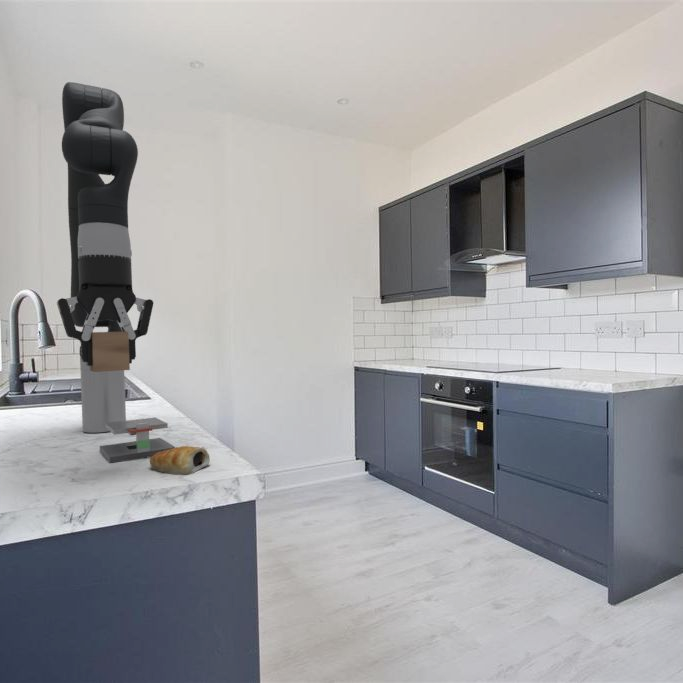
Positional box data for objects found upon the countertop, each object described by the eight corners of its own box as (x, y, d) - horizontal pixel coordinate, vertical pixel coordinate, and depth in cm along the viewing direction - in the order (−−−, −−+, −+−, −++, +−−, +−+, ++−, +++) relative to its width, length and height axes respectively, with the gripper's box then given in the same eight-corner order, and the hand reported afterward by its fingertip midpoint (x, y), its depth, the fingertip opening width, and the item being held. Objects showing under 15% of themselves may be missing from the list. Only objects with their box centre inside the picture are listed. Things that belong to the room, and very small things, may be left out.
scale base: (99, 451, 92) (98, 419, 92) (160, 442, 98) (159, 412, 98) (109, 463, 83) (108, 427, 83) (175, 452, 89) (174, 419, 89)
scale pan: (105, 433, 92) (105, 423, 92) (155, 426, 97) (155, 417, 97) (116, 442, 83) (115, 431, 83) (170, 435, 88) (170, 424, 88)
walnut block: (89, 370, 78) (88, 332, 78) (123, 368, 81) (122, 332, 81) (94, 372, 74) (92, 332, 74) (129, 369, 77) (128, 331, 77)
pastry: (139, 472, 77) (138, 448, 77) (168, 462, 84) (167, 440, 84) (188, 477, 74) (187, 452, 74) (214, 465, 80) (214, 442, 80)
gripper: (147, 262, 84) (150, 361, 84) (50, 256, 76) (54, 366, 76) (158, 255, 78) (162, 362, 78) (54, 249, 70) (58, 368, 70)
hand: (109, 363), depth 77 cm, fingers closed on walnut block, 5 cm apart
